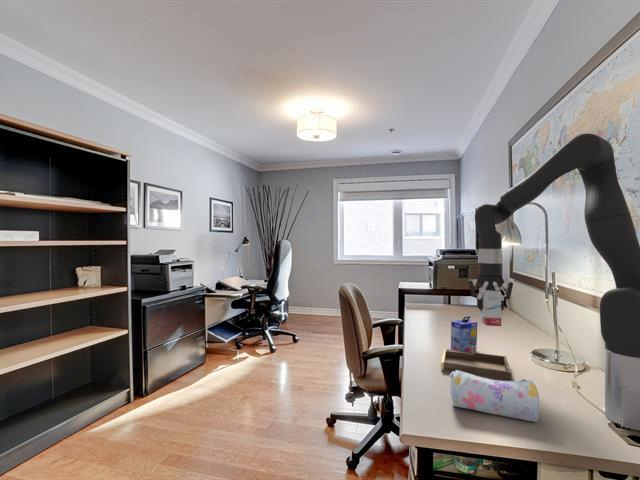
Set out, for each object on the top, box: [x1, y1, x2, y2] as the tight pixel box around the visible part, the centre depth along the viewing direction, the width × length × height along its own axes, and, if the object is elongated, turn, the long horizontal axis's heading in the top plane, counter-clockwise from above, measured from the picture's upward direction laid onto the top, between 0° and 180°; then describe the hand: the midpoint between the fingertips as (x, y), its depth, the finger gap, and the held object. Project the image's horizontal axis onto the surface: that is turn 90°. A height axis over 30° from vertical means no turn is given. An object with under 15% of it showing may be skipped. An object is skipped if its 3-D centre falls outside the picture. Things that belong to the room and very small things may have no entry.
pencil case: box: [449, 370, 540, 422], centre depth 86 cm, size 21×9×10 cm, turn 69°
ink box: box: [478, 287, 502, 327], centre depth 114 cm, size 9×5×12 cm, turn 168°
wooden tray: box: [440, 348, 512, 381], centre depth 116 cm, size 16×21×3 cm
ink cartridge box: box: [450, 315, 478, 353], centre depth 134 cm, size 10×6×14 cm, turn 117°
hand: (490, 310), depth 114 cm, fingers closed on ink box, 5 cm apart
